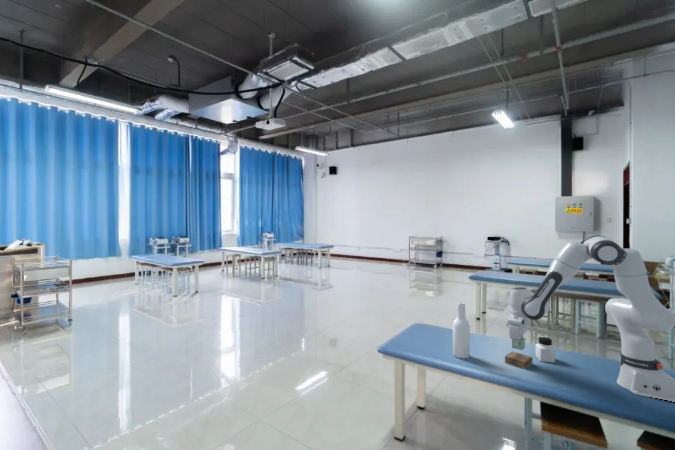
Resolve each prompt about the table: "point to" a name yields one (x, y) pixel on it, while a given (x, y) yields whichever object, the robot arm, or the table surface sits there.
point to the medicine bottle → (545, 350)
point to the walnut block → (518, 360)
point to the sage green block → (521, 344)
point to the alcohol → (461, 333)
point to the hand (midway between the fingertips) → (518, 343)
